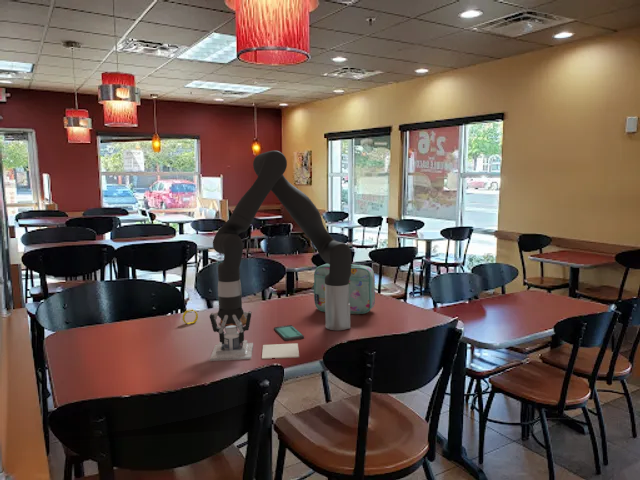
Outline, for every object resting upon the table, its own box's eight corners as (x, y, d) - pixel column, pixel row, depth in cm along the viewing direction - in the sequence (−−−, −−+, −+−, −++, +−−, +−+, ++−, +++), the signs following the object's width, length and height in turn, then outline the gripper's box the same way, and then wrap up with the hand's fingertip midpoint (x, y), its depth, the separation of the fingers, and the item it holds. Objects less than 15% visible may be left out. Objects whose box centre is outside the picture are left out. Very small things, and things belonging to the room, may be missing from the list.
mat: (297, 344, 168) (297, 343, 168) (299, 357, 157) (299, 356, 157) (263, 346, 167) (263, 344, 167) (261, 359, 156) (261, 357, 156)
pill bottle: (241, 349, 164) (240, 324, 163) (239, 355, 159) (238, 329, 158) (225, 350, 164) (224, 324, 163) (223, 355, 159) (222, 329, 158)
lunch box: (309, 312, 207) (308, 263, 204) (317, 306, 216) (316, 259, 213) (371, 317, 199) (371, 265, 196) (376, 310, 209) (376, 261, 206)
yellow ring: (185, 326, 192) (183, 312, 191) (182, 324, 194) (180, 310, 193) (199, 322, 195) (197, 308, 194) (196, 320, 198) (194, 306, 197)
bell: (252, 318, 200) (252, 301, 199) (245, 327, 189) (244, 309, 188) (225, 318, 202) (224, 301, 201) (216, 327, 190) (215, 309, 189)
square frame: (253, 344, 169) (252, 338, 168) (251, 359, 156) (250, 351, 156) (215, 346, 168) (215, 339, 167) (210, 361, 155) (209, 353, 154)
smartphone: (291, 324, 188) (304, 335, 175) (291, 327, 189) (304, 339, 175) (273, 326, 186) (285, 338, 172) (273, 330, 186) (285, 342, 172)
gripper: (252, 289, 163) (254, 338, 166) (209, 291, 162) (211, 340, 164) (251, 295, 156) (253, 345, 158) (206, 297, 155) (208, 347, 157)
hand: (232, 342), depth 161 cm, fingers closed on pill bottle, 5 cm apart
